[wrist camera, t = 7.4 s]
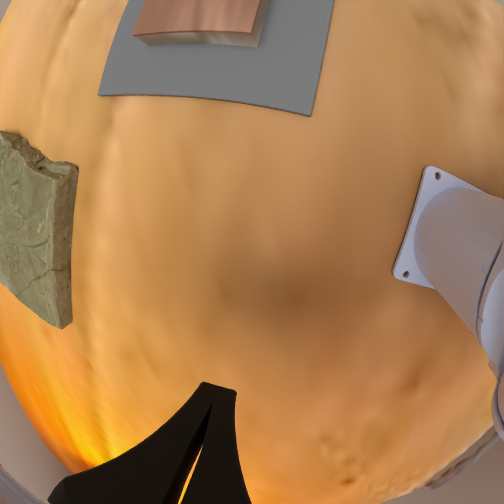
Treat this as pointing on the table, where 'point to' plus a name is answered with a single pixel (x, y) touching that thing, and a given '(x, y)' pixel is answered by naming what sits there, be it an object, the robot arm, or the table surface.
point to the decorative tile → (36, 228)
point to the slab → (201, 22)
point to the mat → (227, 61)
